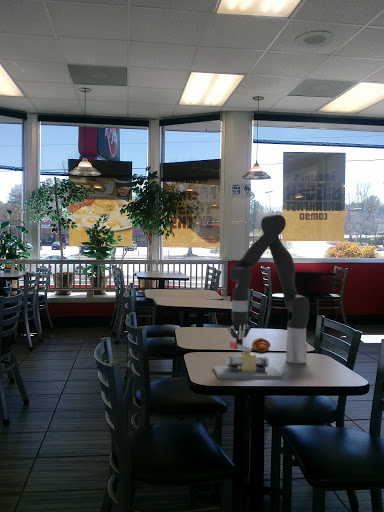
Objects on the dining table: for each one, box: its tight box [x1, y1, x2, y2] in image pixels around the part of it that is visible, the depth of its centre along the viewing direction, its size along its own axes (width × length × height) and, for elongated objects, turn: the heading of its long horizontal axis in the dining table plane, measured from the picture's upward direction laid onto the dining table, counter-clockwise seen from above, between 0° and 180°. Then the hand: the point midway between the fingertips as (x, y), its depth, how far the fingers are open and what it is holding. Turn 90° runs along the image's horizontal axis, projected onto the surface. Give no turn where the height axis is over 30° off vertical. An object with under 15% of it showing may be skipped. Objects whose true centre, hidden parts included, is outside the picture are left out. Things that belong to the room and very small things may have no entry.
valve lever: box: [229, 340, 252, 354], centre depth 207 cm, size 14×3×3 cm, turn 31°
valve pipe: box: [226, 351, 269, 373], centre depth 202 cm, size 18×6×8 cm, turn 96°
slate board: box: [212, 365, 284, 380], centre depth 202 cm, size 28×15×2 cm, turn 96°
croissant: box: [251, 337, 271, 353], centre depth 255 cm, size 21×10×8 cm, turn 175°
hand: (239, 346), depth 213 cm, fingers closed
